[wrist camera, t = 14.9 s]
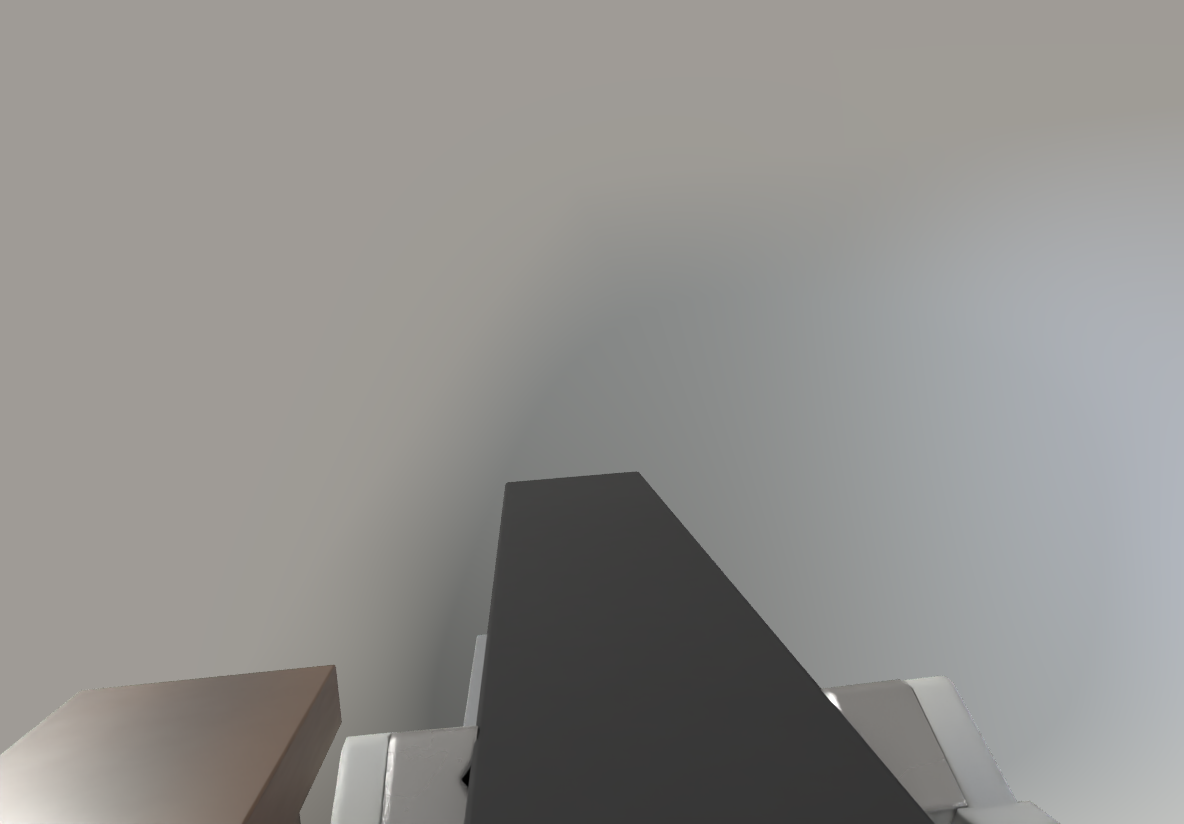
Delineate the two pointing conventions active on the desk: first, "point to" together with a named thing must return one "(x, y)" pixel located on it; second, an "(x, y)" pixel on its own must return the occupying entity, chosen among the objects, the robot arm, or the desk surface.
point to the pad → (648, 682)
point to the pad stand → (176, 752)
